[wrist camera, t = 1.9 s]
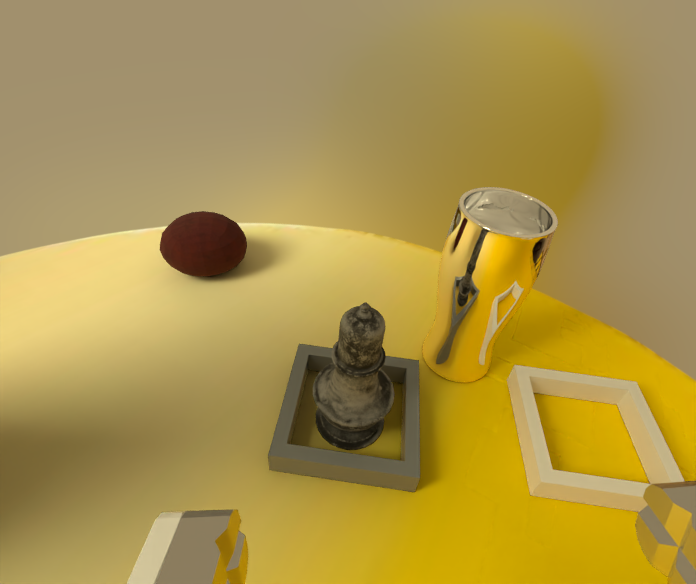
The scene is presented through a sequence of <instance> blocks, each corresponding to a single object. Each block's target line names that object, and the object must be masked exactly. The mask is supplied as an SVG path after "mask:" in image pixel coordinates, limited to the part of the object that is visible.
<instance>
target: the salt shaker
mask: <svg viewBox="0 0 696 584" xmlns="http://www.w3.org/2000/svg"><path fill="white" fill-rule="evenodd" d="M384 332H385V321H384V318H383V317H382V315H381V314H380V313H379V312H378V311H377V310H375V309H374V308H371V307H370V306H369V305H368V304H367V303H366V302H365V303H363V304H362V305H360V306H357V307H354V308H351V309H350V310H348V311H347V312H345V314H344V315H343V317H342V319H341V322H340V330H339V341H338V342H336V344H335V345H334V347H333V349H332V360H333V363H330V364H328V365H327V366H326V367H324V368H323V369H322V370H321V371H320V372H319V374H318V375H317V376H316V378H315V381H314V384H313V398H314V401H315V404H316V406H317V407H318V408H317V411H316V425H317V428H318V431H319V432H320V434H321V435H322V437H323V438H324V439H325V440H326V441H328V442H329V443H330V444H332V445H334V446H336V447H338V448H342V449H346V450H357V449H361V448H365V447H367V446H369V445H370V444H372V443H374V442H375V440H376V439H377V438H378V437H379V436H380V434H381V432H382V430H383V425H384V417H385V416H386V415H387V414H388V413H389V411H390V409H391V407H392V405H393V401H394V395H395V394H394V388H393V384H392V382H391V380H390V378H389V377H388V376H387V375H386V373H385V372H384V371H383V370H382V367H383V365H384V363H385V358H386V356H385V351H384V349H383V347H382V343H383V337H384Z"/></svg>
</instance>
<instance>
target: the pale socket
mask: <svg viewBox="0 0 696 584" xmlns="http://www.w3.org/2000/svg"><path fill="white" fill-rule="evenodd" d="M507 383H508V387H509V392H510V397H511V402H512V407H513V412H514V417H515V422H516V427H517V432H518V437H519V442H520V447H521V451H522V456H523V461H524V466H525V471H526V476H527V481H528V486H529V491H530V495H531V496H537V497H544V498H551V499H557V500H564V501H571V502H577V503H584V504H590V505H597V506H604V507H610V508H617V509H623V510H630V511H637V512H640V511H641V510H642V509H644V508H645V507H646V506H647V505H648V504H647V502H646V501H645V500H644V498H643V496H644V492H645V489H646V488H647V487H648V486H650V485H651V484H659V483H672V482H685V481H684V479H683V477H682V474H681V472H680V470H679V468H678V466H677V464H676V462H675V460H674V458H673V456H672V454H671V452H670V450H669V448H668V446H667V444H666V442H665V439H664V437H663V435H662V433H661V431H660V429H659V427H658V425H657V423H656V421H655V419H654V417H653V415H652V413H651V411H650V409H649V407H648V405H647V402H646V400H645V398H644V396H643V394H642V392H641V390H640V388H639V386H638V384H637V382H634V381H626V380H619V379H612V378H605V377H598V376H591V375H584V374H576V373H569V372H562V371H555V370H548V369H541V368H533V367H526V366H519V365H514V367H513V369H512V371H511V373H510V375H509V377H508V379H507ZM533 393H539V394H546V395H553V396H560V397H567V398H574V399H581V400H588V401H595V402H602V403H609V404H616V405H617V406H618V409H619V411H620V413H621V416H622V418H623V420H624V423H625V425H626V427H627V430H628V432H629V435H630V437H631V439H632V442H633V444H634V446H635V449H636V451H637V454H638V456H639V458H640V461H641V463H642V465H643V468H644V470H645V473H646V475H647V477H648V480H649V482H650V484H646V483H640V482H633V481H626V480H620V479H613V478H606V477H599V476H593V475H586V474H579V473H572V472H566V471H559V470H553V469H552V465H551V461H550V457H549V453H548V449H547V445H546V441H545V437H544V433H543V429H542V425H541V421H540V417H539V413H538V409H537V406H536V402H535V398H534V394H533Z"/></svg>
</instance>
